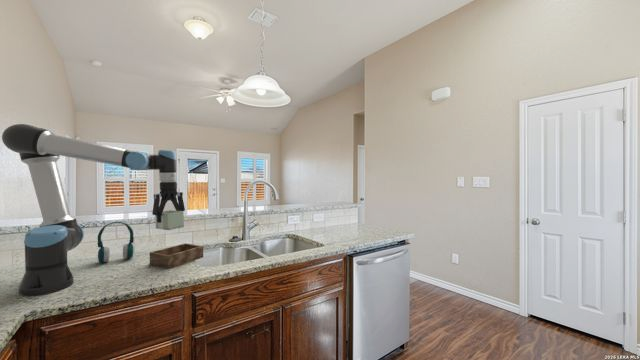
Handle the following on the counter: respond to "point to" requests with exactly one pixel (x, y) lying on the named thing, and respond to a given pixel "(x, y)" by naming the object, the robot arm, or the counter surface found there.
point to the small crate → (171, 220)
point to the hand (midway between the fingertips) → (169, 227)
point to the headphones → (104, 251)
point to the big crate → (176, 255)
